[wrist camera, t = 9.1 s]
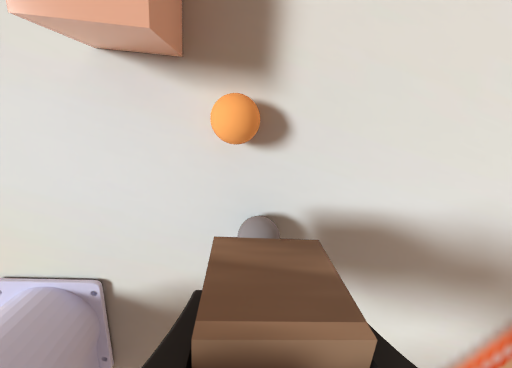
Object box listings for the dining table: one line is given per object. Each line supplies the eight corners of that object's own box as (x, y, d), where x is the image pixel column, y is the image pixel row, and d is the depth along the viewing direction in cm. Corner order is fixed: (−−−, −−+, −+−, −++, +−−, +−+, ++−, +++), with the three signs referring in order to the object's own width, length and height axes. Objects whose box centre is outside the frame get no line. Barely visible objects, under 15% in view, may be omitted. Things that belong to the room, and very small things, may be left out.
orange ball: (257, 142, 17) (260, 149, 14) (213, 139, 16) (207, 146, 13) (260, 96, 16) (264, 93, 13) (213, 92, 15) (207, 89, 13)
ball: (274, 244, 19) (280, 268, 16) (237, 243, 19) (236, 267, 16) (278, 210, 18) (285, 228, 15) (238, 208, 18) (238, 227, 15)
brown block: (305, 321, 14) (345, 455, 8) (212, 320, 13) (192, 460, 8) (318, 239, 12) (377, 339, 7) (214, 236, 12) (191, 339, 6)
